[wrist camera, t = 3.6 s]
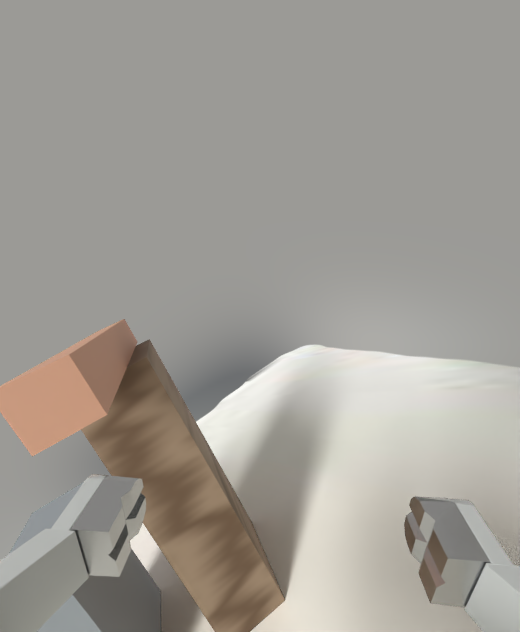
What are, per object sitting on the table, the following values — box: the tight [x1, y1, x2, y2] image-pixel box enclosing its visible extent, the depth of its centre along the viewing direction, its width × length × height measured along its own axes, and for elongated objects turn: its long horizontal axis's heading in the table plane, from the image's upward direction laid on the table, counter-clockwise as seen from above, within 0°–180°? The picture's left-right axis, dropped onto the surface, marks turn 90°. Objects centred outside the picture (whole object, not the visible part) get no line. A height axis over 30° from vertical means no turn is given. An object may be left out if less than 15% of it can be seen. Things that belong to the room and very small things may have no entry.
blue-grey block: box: [9, 482, 161, 632], centre depth 25 cm, size 5×10×16 cm, turn 22°
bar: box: [0, 319, 137, 456], centre depth 22 cm, size 3×22×3 cm, turn 22°
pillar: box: [81, 340, 285, 632], centre depth 28 cm, size 6×10×26 cm, turn 22°
